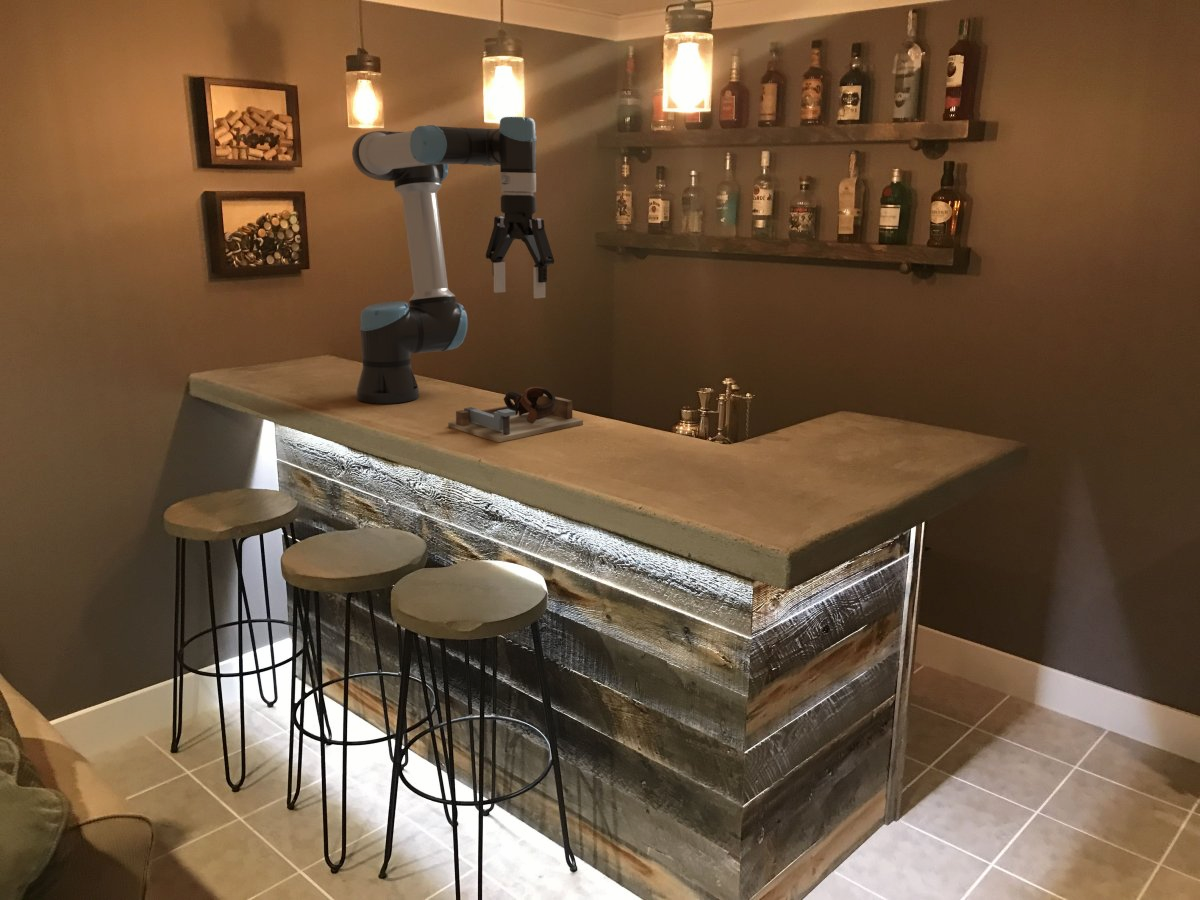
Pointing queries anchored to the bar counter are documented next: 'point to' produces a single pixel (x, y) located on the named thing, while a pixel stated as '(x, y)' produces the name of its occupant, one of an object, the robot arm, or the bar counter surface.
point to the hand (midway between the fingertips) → (519, 295)
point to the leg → (489, 417)
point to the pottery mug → (531, 403)
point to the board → (520, 422)
